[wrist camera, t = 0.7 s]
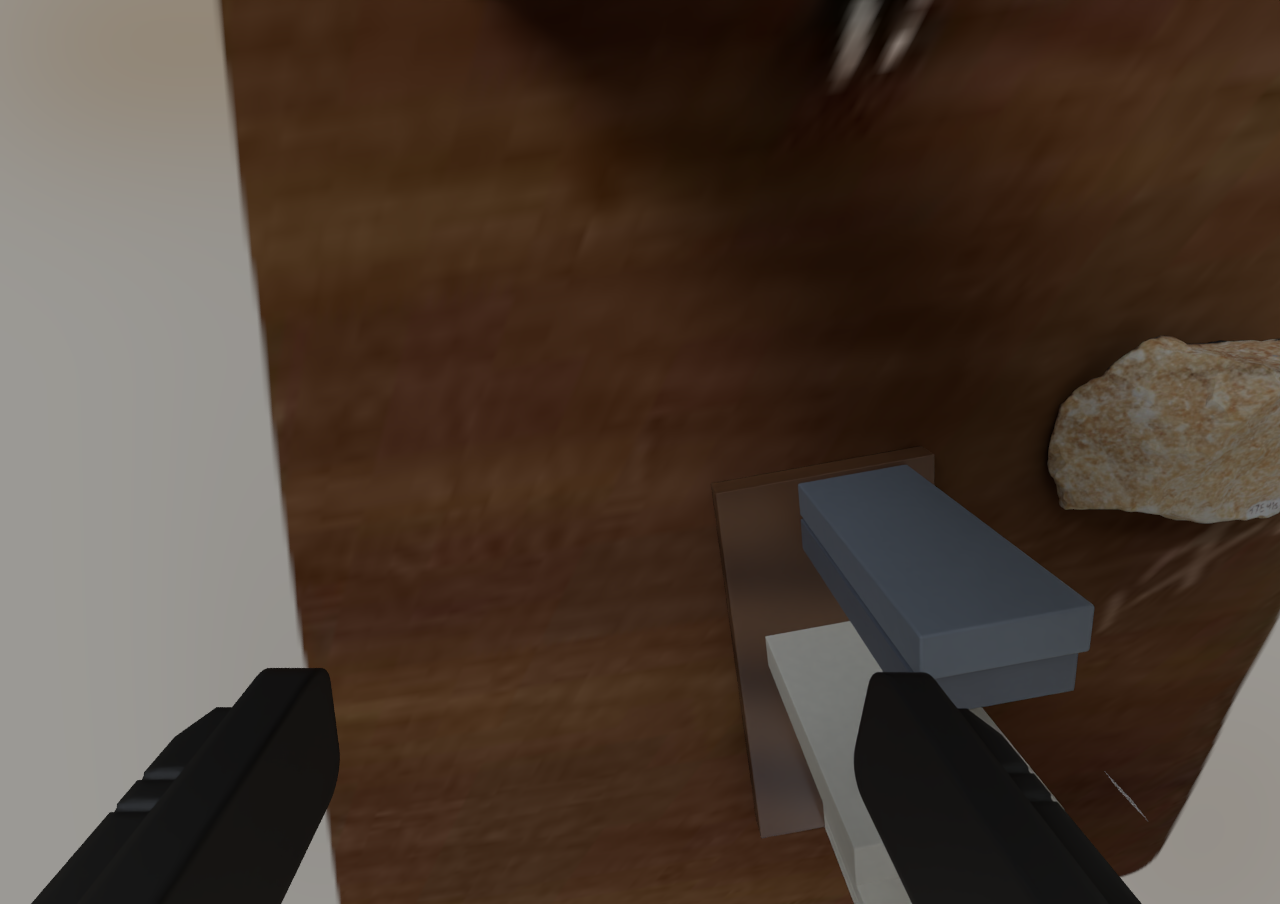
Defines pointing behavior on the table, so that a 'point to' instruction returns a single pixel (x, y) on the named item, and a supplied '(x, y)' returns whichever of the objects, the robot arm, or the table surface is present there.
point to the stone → (1175, 433)
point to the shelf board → (779, 620)
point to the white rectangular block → (836, 730)
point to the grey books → (942, 589)
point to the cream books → (871, 900)
